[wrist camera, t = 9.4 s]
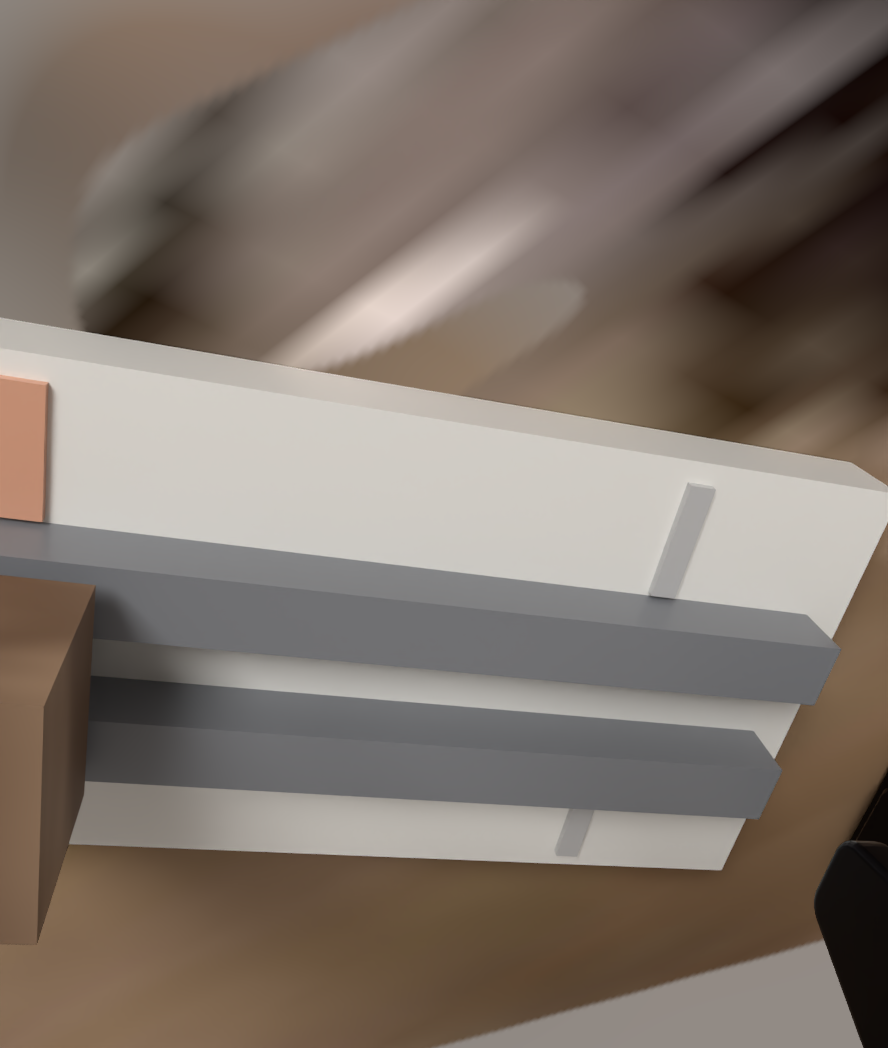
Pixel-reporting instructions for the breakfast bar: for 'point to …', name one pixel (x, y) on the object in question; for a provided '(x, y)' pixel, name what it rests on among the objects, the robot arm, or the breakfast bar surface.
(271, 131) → the breakfast bar surface
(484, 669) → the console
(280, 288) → the breakfast bar surface
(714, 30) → the breakfast bar surface
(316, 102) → the breakfast bar surface
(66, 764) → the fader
